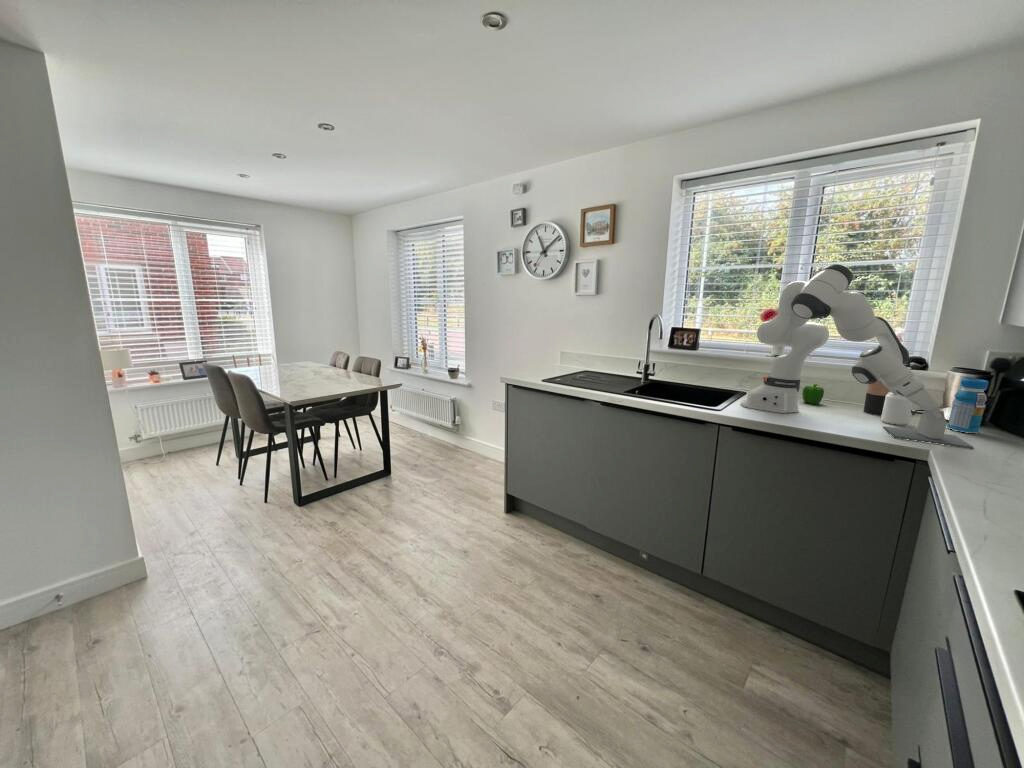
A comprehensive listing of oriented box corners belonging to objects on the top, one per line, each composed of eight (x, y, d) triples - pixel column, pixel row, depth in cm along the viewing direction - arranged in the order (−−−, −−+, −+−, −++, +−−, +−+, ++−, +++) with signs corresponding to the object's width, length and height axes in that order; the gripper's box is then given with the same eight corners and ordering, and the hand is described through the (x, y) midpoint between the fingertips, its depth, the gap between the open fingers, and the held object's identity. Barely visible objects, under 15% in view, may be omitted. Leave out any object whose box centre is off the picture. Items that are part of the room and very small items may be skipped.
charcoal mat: (893, 438, 145) (894, 436, 145) (882, 428, 157) (883, 426, 157) (973, 449, 136) (973, 446, 135) (954, 437, 148) (955, 435, 147)
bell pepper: (801, 400, 201) (805, 380, 199) (822, 403, 196) (826, 382, 194) (800, 403, 195) (803, 382, 193) (821, 406, 190) (825, 385, 188)
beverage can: (913, 426, 160) (919, 397, 157) (889, 425, 161) (895, 395, 159) (898, 421, 168) (904, 392, 165) (875, 419, 169) (881, 391, 167)
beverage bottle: (947, 431, 155) (960, 379, 151) (944, 426, 162) (957, 376, 157) (980, 436, 150) (994, 382, 146) (976, 430, 156) (989, 379, 152)
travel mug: (866, 414, 178) (876, 368, 173) (859, 409, 184) (868, 366, 180) (888, 416, 175) (898, 370, 171) (880, 411, 182) (890, 367, 178)
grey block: (929, 438, 143) (936, 410, 141) (916, 432, 149) (922, 406, 147) (942, 439, 142) (949, 411, 140) (928, 433, 148) (935, 406, 146)
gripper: (886, 384, 157) (914, 412, 154) (903, 394, 140) (935, 426, 137) (904, 374, 154) (933, 403, 151) (923, 383, 137) (957, 415, 134)
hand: (934, 414), depth 144 cm, fingers closed on grey block, 7 cm apart
